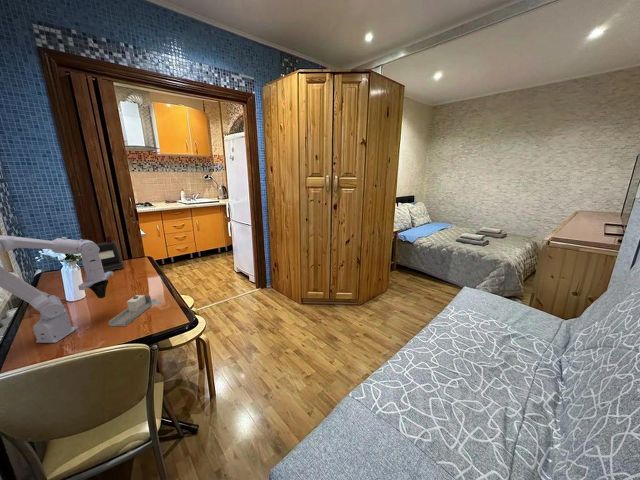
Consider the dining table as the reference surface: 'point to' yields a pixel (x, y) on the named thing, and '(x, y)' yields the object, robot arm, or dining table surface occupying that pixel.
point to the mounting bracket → (155, 302)
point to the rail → (129, 314)
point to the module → (136, 302)
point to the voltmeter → (110, 255)
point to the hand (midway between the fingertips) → (101, 297)
